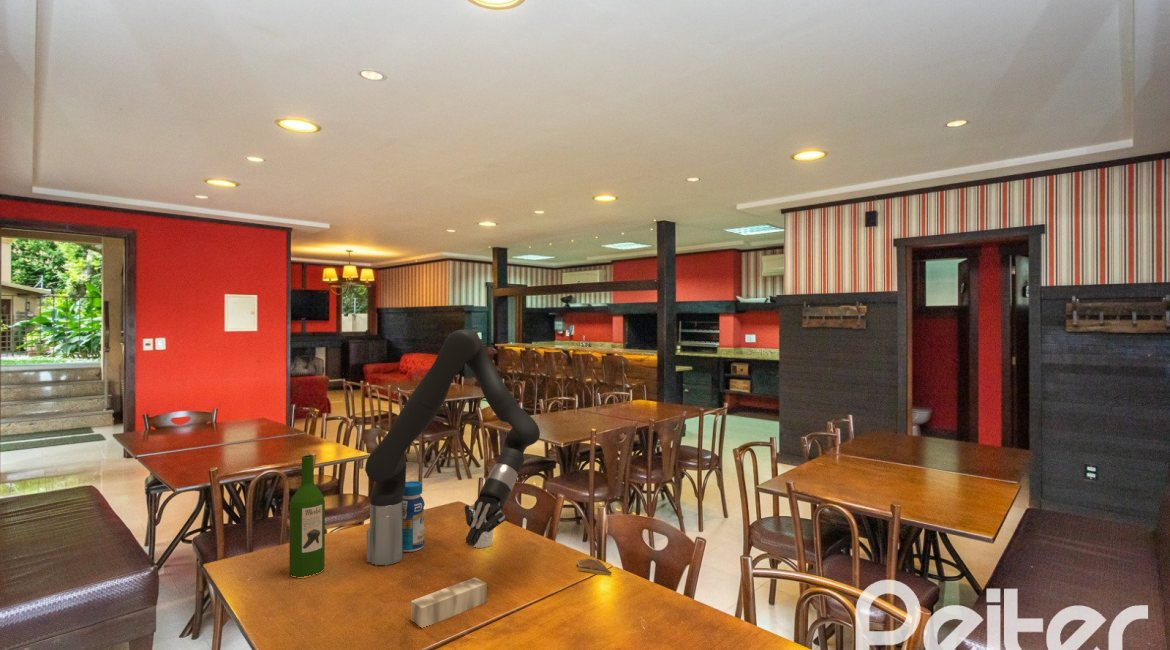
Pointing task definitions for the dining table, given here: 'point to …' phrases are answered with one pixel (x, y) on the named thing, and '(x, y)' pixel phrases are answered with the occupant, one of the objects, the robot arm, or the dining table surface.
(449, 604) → the birch block
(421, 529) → the beverage bottle
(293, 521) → the wine bottle
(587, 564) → the shard
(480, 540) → the white cup
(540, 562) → the dining table surface
